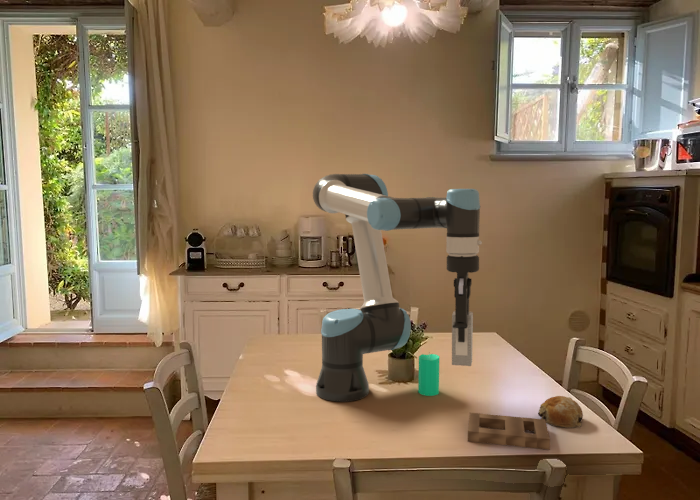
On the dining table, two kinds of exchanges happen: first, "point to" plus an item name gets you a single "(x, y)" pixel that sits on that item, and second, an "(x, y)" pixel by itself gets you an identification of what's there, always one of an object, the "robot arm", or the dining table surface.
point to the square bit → (464, 359)
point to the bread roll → (561, 412)
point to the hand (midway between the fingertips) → (462, 351)
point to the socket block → (508, 431)
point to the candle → (428, 375)
